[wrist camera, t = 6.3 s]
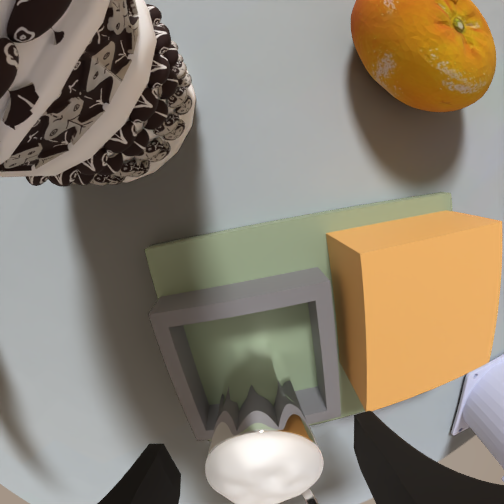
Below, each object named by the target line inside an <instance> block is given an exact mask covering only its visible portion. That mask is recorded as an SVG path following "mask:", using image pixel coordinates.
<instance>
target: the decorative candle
mask: <svg viewBox="0 0 504 504" xmlns="http://www.w3.org/2000/svg"><path fill="white" fill-rule="evenodd" d="M161 18H162V16H161V12H160V11H159V9H158V8H156V7H155V6H153V5H149V4H146V3H145V2H144V0H0V176H1V177H18V176H26V179H27V180H28V182H29V183H30V184H32V185H35V186H38V185H41V184H43V183H44V182H45V181H46V180H47V179H49V180H50V181H51V182H52V183H53V184H55V185H58V186H68V185H70V184H71V183H72V184H77V185H87V184H95V185H101V186H102V185H106V184H110V185H117V184H120V183H121V182H131V181H133V180H136V179H138V178H141V177H143V176H146V175H149V174H151V173H154V172H156V171H157V170H158V169H159V168H160V167H161V166H162V165H163V164H165V163H166V162H167V161H168V160H169V159H170V158H171V157H172V156H174V155H175V154H176V153H177V152H178V150H179V149H180V147H181V145H182V143H183V141H184V139H185V137H186V136H187V134H188V132H189V130H190V128H191V127H192V123H193V116H194V108H195V101H196V95H195V92H194V89H193V86H192V82H191V81H192V80H191V76H190V75H189V72H188V70H187V68H186V65H185V64H184V63H183V57H182V56H181V55H180V54H178V51H177V50H178V46H177V44H176V43H175V42H173V41H171V37H170V33H169V30H168V28H167V27H166V26H165V25H164V24H162V23H159V22H160V20H161Z"/></svg>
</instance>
